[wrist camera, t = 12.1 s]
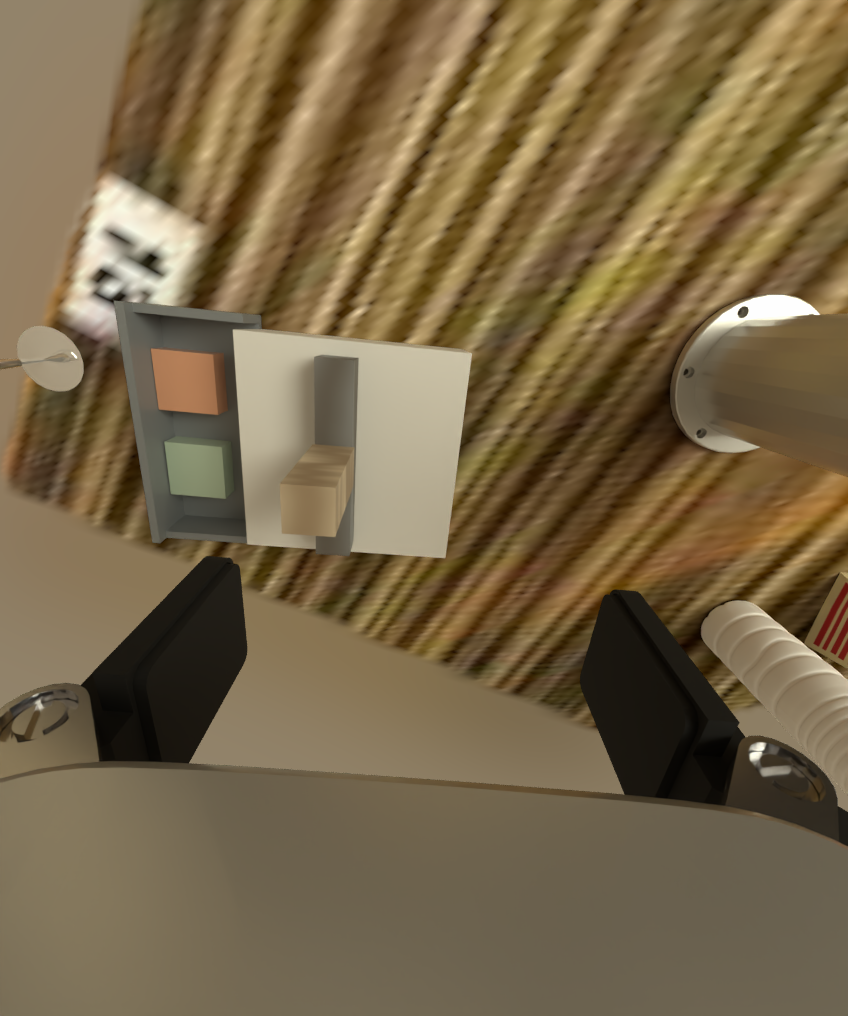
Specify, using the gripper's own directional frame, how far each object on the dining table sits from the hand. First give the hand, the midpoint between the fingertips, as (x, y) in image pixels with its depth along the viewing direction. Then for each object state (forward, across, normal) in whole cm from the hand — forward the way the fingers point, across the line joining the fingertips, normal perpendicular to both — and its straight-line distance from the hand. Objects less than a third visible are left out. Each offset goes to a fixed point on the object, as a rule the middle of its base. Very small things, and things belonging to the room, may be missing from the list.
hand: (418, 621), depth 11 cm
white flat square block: (+28, +6, +2) cm, 29 cm away
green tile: (+25, +19, +6) cm, 32 cm away
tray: (+27, +18, +2) cm, 33 cm away
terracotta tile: (+25, +19, -1) cm, 31 cm away
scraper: (+22, +6, +2) cm, 23 cm away
